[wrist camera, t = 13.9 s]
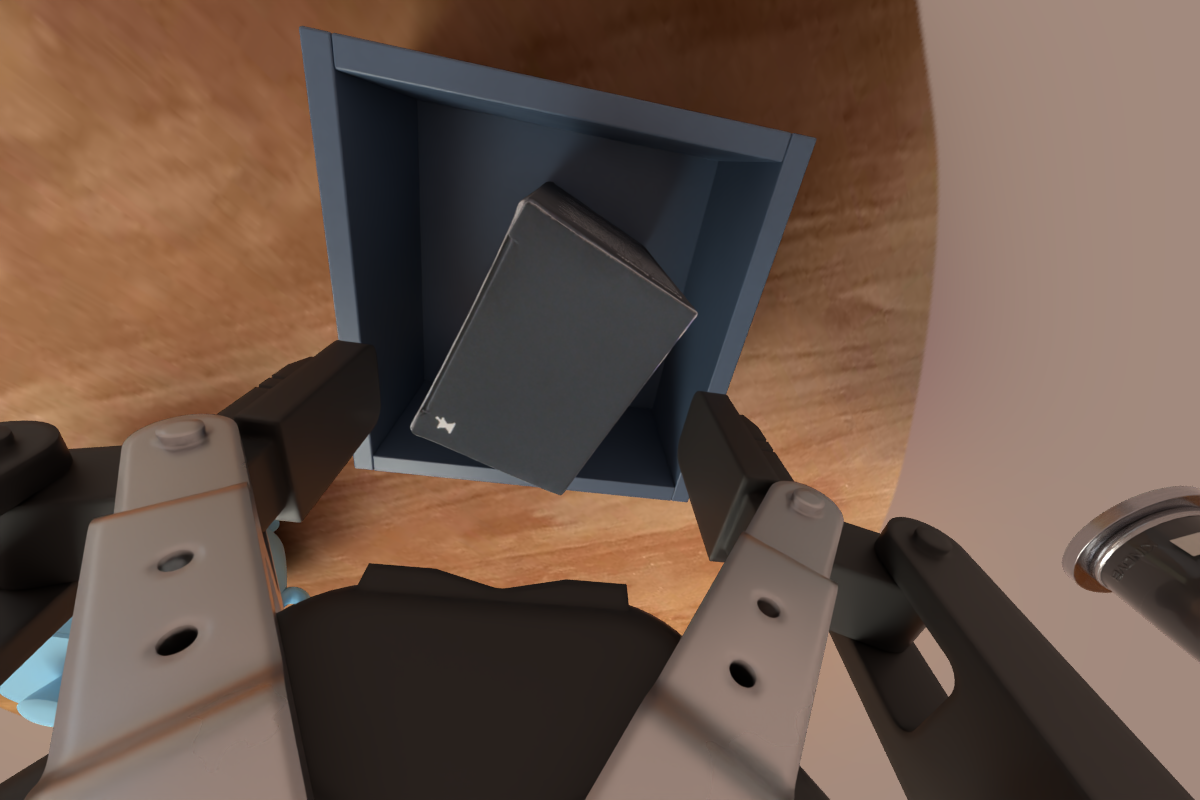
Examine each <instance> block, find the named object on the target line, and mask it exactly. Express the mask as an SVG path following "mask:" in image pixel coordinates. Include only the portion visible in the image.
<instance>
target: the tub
mask: <svg viewBox="0 0 1200 800" xmlns="http://www.w3.org/2000/svg"><path fill="white" fill-rule="evenodd" d="M299 32H300V39H301V47H302V55H303V63H304V71H305V79H306V87H307V95H308V103H309V110H310V118H311V126H312V134H313V142H314V150H315V158H316V166H317V174H318V182H319V189H320V197H321V205H322V213H323V221H324V229H325V237H326V245H327V253H328V260H329V268H330V276H331V284H332V292H333V300H334V308H335V316H336V324H337V331H338V339H339V340H341V341H348V342H356V343H363V344H370V345H373V346H374V348H375V350H376V353H377V362H378V374H379V386H380V398H381V409H380V415H379V418H378V421H377V424H376V426H375V427H374V428H373V430H372V431H371V432H370V434H369V435H368V436H367V438H366V439H365V440H364V441H363V443H362V444H361V445H360V447H359V448H358V449H357V451H356V452H355V453H354V454H353V458H354V466H355V468H358V469H368V470H375V471H385V472H395V473H404V474H414V475H424V476H434V477H444V478H453V479H463V480H473V481H483V482H493V483H503V484H512V485H522V486H532V487H537V486H535V485H532V484H530V483H527V482H525V481H522V480H520V479H518V478H515V477H513V476H511V475H508V474H506V473H504V472H502V471H499V470H497V469H495V468H492V467H490V466H488V465H486V464H483V463H481V462H479V461H477V460H474V459H472V458H470V457H468V456H465V455H463V454H461V453H458V452H456V451H454V450H451V449H449V448H447V447H444V446H442V445H440V444H438V443H435V442H433V441H430V440H427V439H425V438H423V437H419V436H417V435H414V434H413V433H412V430H411V428H410V426H411V422H412V421H413V419H414V417H415V415H416V413H417V411H418V410H419V408H420V406H421V404H422V402H423V400H424V399H425V397H426V395H427V393H428V391H429V389H430V387H431V386H432V384H433V382H434V380H435V378H436V376H437V374H438V372H439V370H440V368H441V366H442V364H443V362H444V360H445V358H446V356H447V354H448V352H449V350H450V348H451V346H452V344H453V342H454V340H455V338H456V336H457V334H458V332H459V330H460V328H461V326H462V325H463V323H464V321H465V318H466V316H467V314H468V312H469V310H470V308H471V306H472V304H473V302H474V300H475V298H476V297H477V294H478V292H479V290H480V288H481V286H482V283H483V281H484V279H485V277H486V275H487V273H488V271H489V269H490V267H491V265H492V263H493V261H494V259H495V257H496V255H497V253H498V250H499V248H500V246H501V244H502V242H503V239H504V237H505V235H506V233H507V231H508V228H509V226H510V224H511V222H512V219H513V217H514V214H515V211H516V208H517V206H518V203H519V202H520V201H521V200H522V199H524V198H525V197H526V196H528V195H530V194H531V193H532V192H534V191H535V190H536V189H538V188H539V187H541V186H542V185H543V184H544V183H545V182H548V181H550V182H554V183H555V184H556V185H557V186H558V187H560V188H562V189H563V190H564V191H566V192H567V193H568V194H570V195H571V196H573V197H574V198H576V199H577V200H579V201H580V202H581V203H583V204H584V205H586V206H587V207H589V208H590V209H591V210H593V211H594V212H595V213H597V214H598V215H600V216H601V217H603V218H604V219H606V220H607V221H608V222H610V223H611V224H613V225H614V226H616V227H617V228H619V229H620V230H622V231H623V232H624V233H626V234H627V235H629V236H630V237H631V238H633V239H634V240H636V241H637V242H639V243H640V244H642V245H643V246H644V247H645V248H646V249H647V250H648V251H649V253H650V254H651V255H652V256H653V257H654V259H655V260H656V262H657V263H658V264H659V265H660V266H661V268H662V269H663V270H664V271H665V273H666V274H667V275H668V276H669V277H670V278H671V280H672V281H673V282H674V284H675V285H676V286H677V287H678V289H679V290H680V291H681V292H682V293H683V295H684V296H685V297H686V299H687V300H688V301H689V303H690V304H691V305H692V306H693V307H694V308H695V310H696V311H697V314H698V315H697V317H696V318H695V319H694V320H693V322H692V323H691V324H690V326H689V327H688V328H687V330H686V331H685V332H684V333H683V335H682V336H681V337H680V338H679V340H678V341H677V342H676V344H675V345H674V346H673V347H672V349H671V350H670V352H669V353H668V354H667V356H666V357H665V358H664V360H663V361H662V362H661V364H660V365H659V366H658V368H657V369H656V370H655V372H654V373H653V374H652V376H651V377H650V378H649V380H648V381H647V382H646V384H645V385H644V386H643V388H642V389H641V390H640V392H639V393H638V394H637V396H636V397H635V398H634V400H633V401H632V402H631V404H630V405H629V406H628V408H627V409H626V410H625V412H624V413H623V414H622V416H621V417H620V418H619V420H618V421H617V422H616V424H615V425H614V426H613V428H612V429H611V430H610V432H609V433H608V434H607V436H606V437H605V438H604V440H603V441H602V442H601V443H600V445H599V446H598V447H597V449H596V450H595V451H594V453H593V454H592V456H591V457H590V458H589V460H588V461H587V462H586V464H585V465H584V466H583V468H582V469H581V470H580V472H579V473H578V474H577V476H576V477H575V478H574V480H573V481H572V483H571V484H570V485H569V487H568V488H567V489H566V490H571V491H581V492H591V493H601V494H611V495H620V496H630V497H640V498H650V499H660V500H672V501H680V502H688V499H689V495H688V492H687V489H686V486H685V483H684V480H683V476H682V473H681V470H680V467H679V464H678V458H677V450H678V443H679V439H680V436H681V433H682V430H683V426H684V423H685V420H686V417H687V414H688V410H689V407H690V404H691V401H692V398H693V396H694V394H695V393H696V392H697V391H704V392H712V393H719V394H726V393H727V390H728V387H729V384H730V381H731V379H732V376H733V373H734V370H735V367H736V365H737V362H738V359H739V356H740V353H741V351H742V348H743V345H744V342H745V339H746V337H747V334H748V331H749V328H750V325H751V322H752V320H753V317H754V314H755V311H756V308H757V306H758V303H759V300H760V297H761V294H762V292H763V289H764V286H765V283H766V280H767V278H768V275H769V272H770V269H771V266H772V263H773V261H774V258H775V255H776V252H777V249H778V247H779V244H780V241H781V238H782V235H783V233H784V230H785V227H786V224H787V221H788V219H789V216H790V213H791V210H792V207H793V204H794V202H795V199H796V196H797V193H798V190H799V188H800V185H801V182H802V179H803V176H804V174H805V171H806V168H807V165H808V162H809V160H810V157H811V154H812V151H813V148H814V145H815V143H816V138H814V137H809V136H805V135H800V134H795V133H792V134H791V133H790V132H786V131H781V130H777V129H772V128H768V127H763V126H758V125H754V124H749V123H745V122H740V121H735V120H731V119H726V118H722V117H717V116H713V115H708V114H703V113H699V112H694V111H690V110H685V109H681V108H676V107H671V106H667V105H662V104H658V103H653V102H648V101H644V100H639V99H635V98H630V97H626V96H621V95H616V94H612V93H607V92H603V91H598V90H594V89H589V88H584V87H580V86H575V85H571V84H566V83H561V82H557V81H552V80H548V79H543V78H539V77H534V76H529V75H525V74H520V73H516V72H511V71H507V70H502V69H497V68H493V67H488V66H484V65H479V64H474V63H470V62H465V61H461V60H456V59H452V58H447V57H442V56H438V55H433V54H429V53H424V52H420V51H415V50H410V49H406V48H401V47H397V46H392V45H387V44H383V43H378V42H374V41H369V40H365V39H360V38H355V37H351V36H346V35H342V34H337V33H333V34H332V33H330V32H328V31H323V30H319V29H314V28H310V27H305V26H300V27H299Z"/></svg>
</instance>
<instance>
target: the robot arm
mask: <svg viewBox="0 0 1200 800" xmlns="http://www.w3.org/2000/svg"><path fill="white" fill-rule="evenodd" d="M380 409H381V398H380V386H379V374H378V362H377V353H376V350H375V348H374V346H373V345H370V344H363V343H356V342H348V341H341V340H336V341H335V342H333V343H332V344H330V345H329V346H328V347H326V348H325V349H324V350H322V351H321V352H320V353H318V354H317V355H316V356H314V357H308V358H305V359H303V360H300V361H297V362H294V363H291V364H288V365H287V366H285V367H284V368H282V369H281V370H279V371H278V372H277V373H275V374H274V375H272V378H268V379H267V380H265V381H264V382H262V383H261V384H259V388H258V387H255V388H254V389H252V390H251V391H249V392H248V393H247V394H245V395H244V396H242V397H241V398H239V399H238V400H237V401H235V402H234V403H232V404H231V405H229V406H228V407H227V408H225V409H224V410H222V411H221V412H220V413H218V414H217V415H215V414H191V415H183V416H178V417H172V418H168V419H164V420H161V421H158V422H155V423H152V424H150V425H147V426H145V427H143V428H141V429H139V430H137V431H136V432H134V433H133V434H131V435H130V436H129V437H128V438H127V439H126V440H125V441H124V443H123V445H122V446H110V447H94V448H79V449H68V448H67V446H66V444H65V442H64V440H63V438H62V436H61V434H60V432H59V430H58V429H57V428H56V427H55V426H53V425H51V424H49V423H45V422H38V421H8V422H0V686H1V685H2V684H3V683H4V682H5V681H6V680H7V679H8V678H9V677H10V676H11V675H12V674H13V673H14V672H15V671H16V670H17V669H19V668H20V667H21V666H22V665H23V664H24V663H25V662H26V661H27V660H28V659H29V658H30V657H31V656H32V655H33V654H34V653H35V652H36V651H37V650H38V649H39V648H40V647H41V646H42V645H43V644H44V643H45V642H46V641H47V640H48V639H49V638H51V637H52V636H53V635H54V634H55V633H56V632H57V631H58V630H59V629H60V628H61V627H62V626H63V625H64V624H65V623H66V622H67V621H68V620H69V619H70V618H71V617H72V616H73V617H72V623H71V629H70V635H69V640H68V646H67V652H66V658H65V663H64V669H63V675H62V681H61V686H60V692H59V698H58V703H57V709H56V715H55V721H54V726H53V732H52V738H51V744H50V750H49V754H47V755H46V756H44V757H43V758H41V759H39V760H38V761H36V762H35V763H33V764H31V765H30V766H28V767H27V768H25V769H23V770H22V771H20V772H18V773H17V774H15V775H14V776H12V777H10V778H9V779H7V780H6V781H4V782H2V783H1V784H0V800H830V799H829V798H828V797H827V796H826V795H825V793H824V792H823V791H822V790H821V789H820V788H819V787H818V786H817V784H816V783H815V782H814V781H813V780H812V779H811V778H810V777H809V776H808V774H807V773H806V772H805V771H804V770H803V769H802V768H801V767H800V760H801V755H802V750H803V746H804V742H805V737H806V733H807V728H808V723H809V718H810V714H811V710H812V705H813V701H814V696H815V692H816V687H817V682H818V677H819V673H820V669H821V664H822V659H823V655H824V650H825V646H826V641H827V636H828V632H829V633H830V635H831V637H832V639H833V641H834V643H835V646H836V648H837V650H838V652H839V654H840V656H841V658H842V660H843V663H844V665H845V667H846V669H847V671H848V673H849V675H850V678H851V680H852V682H853V684H854V686H855V688H856V690H857V692H858V695H859V696H860V699H861V701H862V703H863V705H864V707H865V710H866V712H867V714H868V716H869V718H870V720H871V722H872V724H873V726H874V729H875V731H876V733H877V735H878V737H879V739H880V741H881V744H882V745H883V748H884V750H885V752H886V754H887V756H888V758H889V760H890V763H891V765H892V767H893V769H894V771H895V773H896V775H897V778H898V780H899V782H900V784H901V786H902V788H903V790H904V792H905V795H906V797H907V799H908V800H1194V799H1193V798H1192V797H1191V795H1190V794H1189V793H1188V792H1187V791H1186V790H1185V789H1184V788H1183V787H1182V785H1180V783H1179V782H1178V781H1177V780H1176V779H1175V778H1174V777H1173V776H1172V775H1171V774H1170V772H1169V771H1168V770H1167V769H1166V768H1165V767H1164V766H1163V765H1162V764H1161V763H1160V762H1159V761H1158V759H1157V758H1156V757H1155V756H1154V755H1153V754H1152V753H1151V752H1150V751H1149V750H1148V749H1147V748H1146V747H1145V745H1144V744H1143V743H1142V742H1141V741H1140V740H1139V739H1138V738H1137V737H1136V736H1135V734H1134V733H1133V732H1132V731H1131V730H1130V729H1129V728H1128V727H1127V726H1126V725H1125V724H1124V723H1123V722H1122V720H1121V719H1120V718H1119V717H1118V716H1117V715H1116V714H1115V713H1114V712H1113V711H1112V710H1111V708H1110V707H1109V706H1108V705H1107V704H1106V703H1105V702H1104V701H1103V700H1102V699H1101V698H1100V697H1099V696H1098V694H1097V693H1096V692H1095V691H1094V690H1093V689H1092V688H1091V687H1090V686H1089V685H1088V684H1087V682H1086V681H1085V680H1084V679H1083V678H1082V677H1081V676H1080V675H1079V674H1078V673H1077V672H1076V671H1075V669H1074V668H1073V667H1072V666H1071V665H1070V664H1069V663H1068V662H1067V661H1066V660H1065V659H1064V657H1063V656H1062V655H1061V654H1060V653H1059V652H1058V651H1057V650H1056V649H1055V648H1054V647H1053V646H1052V644H1051V643H1050V642H1049V641H1048V640H1047V639H1046V638H1045V637H1044V636H1043V635H1042V634H1041V633H1040V631H1039V630H1038V629H1037V628H1036V627H1035V626H1034V625H1033V624H1032V623H1031V622H1030V621H1029V620H1028V618H1027V617H1026V616H1025V615H1024V614H1023V613H1022V612H1021V611H1020V610H1019V609H1018V608H1017V607H1016V606H1015V604H1014V603H1013V602H1012V601H1011V600H1010V599H1009V598H1008V597H1007V596H1006V595H1005V593H1004V592H1003V591H1002V590H1001V589H1000V588H999V587H998V586H997V585H996V584H995V583H994V582H993V580H992V579H991V578H990V577H989V576H988V575H987V574H986V573H985V572H984V571H983V570H982V569H981V567H980V566H979V565H978V564H977V563H976V562H975V561H974V560H973V559H972V558H971V557H970V556H969V554H968V553H967V552H966V551H965V550H964V549H963V548H962V547H961V546H960V545H959V544H958V543H956V542H955V541H954V540H953V539H951V538H950V537H949V536H947V535H946V534H944V533H942V532H941V531H940V530H938V529H936V528H934V527H932V526H930V525H928V524H926V523H923V522H920V521H918V520H914V519H911V518H906V517H896V518H892V519H891V520H890V521H889V522H888V523H887V525H886V527H885V528H884V529H883V531H882V532H881V534H880V533H876V532H873V531H870V530H867V529H864V528H861V527H858V526H855V525H852V524H849V523H846V522H844V519H843V515H842V513H841V511H840V510H839V508H838V507H837V506H836V505H835V503H834V502H833V501H831V500H830V499H829V498H828V497H827V496H825V495H824V494H822V493H821V492H819V491H817V490H816V489H814V488H812V487H809V486H807V485H804V484H801V483H797V482H794V480H793V479H792V477H791V476H790V474H789V473H788V471H787V470H786V468H785V467H784V465H783V464H782V462H781V461H780V459H779V458H778V456H777V455H776V453H775V452H773V449H772V447H771V446H770V444H769V443H768V442H766V438H765V437H764V435H763V434H762V432H761V431H760V429H759V428H758V427H757V426H756V425H755V424H754V423H752V422H751V421H750V420H749V419H747V418H746V417H745V416H744V415H739V413H738V412H737V410H736V409H735V407H734V405H733V404H732V402H731V401H730V399H729V397H728V396H727V395H726V394H719V393H712V392H704V391H697V392H696V393H695V394H694V396H693V398H692V401H691V404H690V407H689V410H688V414H687V417H686V420H685V423H684V426H683V430H682V433H681V436H680V439H679V443H678V450H677V458H678V464H679V467H680V470H681V473H682V476H683V480H684V483H685V486H686V489H687V492H688V495H689V498H690V501H691V504H692V507H693V511H694V514H695V517H696V520H697V523H698V526H699V529H700V532H701V535H702V539H703V542H704V545H705V548H706V551H707V554H708V557H709V560H710V561H715V562H725V563H724V564H723V566H722V568H721V570H720V571H719V573H718V575H717V577H716V578H715V580H714V582H713V583H712V585H711V587H710V589H709V590H708V592H707V594H706V596H705V597H704V599H703V601H702V603H701V604H700V606H699V608H698V610H697V611H696V613H695V615H694V617H693V618H692V620H691V622H690V624H689V625H688V627H687V629H686V631H685V632H684V634H683V636H681V635H680V634H679V633H678V632H677V631H676V630H674V629H673V628H671V627H670V626H669V625H667V624H666V623H665V622H663V621H661V620H660V619H658V618H656V617H655V616H653V615H651V614H649V613H647V612H645V611H643V610H640V609H638V608H636V607H633V606H630V605H629V603H628V594H627V585H626V584H616V583H603V582H591V581H579V580H567V579H566V580H560V581H553V582H546V583H539V584H532V585H525V586H519V587H512V588H503V589H501V588H494V587H491V586H488V585H484V584H481V583H478V582H475V581H472V580H469V579H466V578H463V577H460V576H456V575H453V574H450V573H447V572H444V571H441V570H438V569H432V568H420V567H408V566H395V565H383V564H371V563H369V565H368V566H367V568H366V570H365V572H364V574H363V576H362V578H361V580H360V582H359V584H358V585H354V586H348V587H344V588H340V589H336V590H331V591H328V592H325V593H322V594H319V595H316V596H313V597H310V598H308V599H305V600H303V601H301V602H298V603H296V604H293V605H291V606H289V607H288V608H286V609H284V607H283V602H282V598H281V593H280V588H279V584H278V579H277V575H276V570H275V566H274V561H273V557H272V552H271V548H270V543H269V539H268V535H267V532H266V529H267V528H268V527H269V526H270V524H271V523H272V522H273V521H274V520H279V521H290V522H302V521H303V519H304V518H305V517H306V516H307V514H308V513H309V512H310V510H311V509H312V508H313V506H314V505H315V504H316V503H317V501H318V500H319V499H320V497H321V496H322V495H323V493H324V492H325V491H326V490H327V488H328V487H329V486H330V484H331V483H332V482H333V480H334V479H335V478H336V477H337V475H338V474H339V473H340V471H341V470H342V469H343V467H344V466H345V465H346V464H347V462H348V461H349V460H350V458H351V457H352V456H353V454H354V453H355V452H356V451H357V449H358V448H359V447H360V445H361V444H362V443H363V441H364V440H365V439H366V438H367V436H368V435H369V434H370V432H371V431H372V430H373V428H374V427H375V426H376V424H377V421H378V418H379V415H380ZM1090 573H1091V575H1092V577H1093V578H1094V579H1095V580H1096V581H1098V582H1099V583H1100V584H1101V585H1103V586H1104V587H1105V588H1107V589H1109V590H1111V591H1112V592H1113V593H1114V594H1116V595H1117V596H1118V597H1119V598H1121V599H1122V600H1123V601H1124V602H1126V603H1127V604H1128V605H1129V606H1130V607H1132V608H1133V609H1134V610H1136V611H1137V612H1138V613H1139V614H1141V615H1142V616H1143V617H1144V618H1145V619H1146V620H1147V621H1149V622H1150V623H1151V624H1152V625H1154V626H1155V627H1156V628H1157V629H1158V630H1160V631H1161V632H1162V633H1163V634H1165V635H1166V636H1167V637H1168V638H1170V639H1171V640H1172V641H1173V642H1174V643H1176V644H1177V645H1178V646H1179V647H1181V648H1182V649H1183V650H1185V651H1186V652H1187V653H1188V654H1189V655H1191V656H1192V657H1193V658H1194V659H1195V660H1197V661H1198V662H1199V663H1200V508H1195V507H1181V508H1174V509H1169V510H1165V511H1161V512H1158V513H1155V514H1152V515H1150V516H1147V517H1145V518H1142V519H1140V520H1138V521H1136V522H1134V523H1132V524H1130V525H1128V526H1127V527H1125V528H1123V529H1122V530H1120V531H1119V532H1117V533H1116V534H1115V535H1113V536H1112V537H1111V538H1110V539H1108V540H1107V541H1106V542H1105V543H1104V544H1103V545H1102V546H1101V547H1100V548H1099V549H1098V551H1097V552H1096V553H1095V555H1094V557H1093V558H1092V561H1091V563H1090ZM925 627H927V629H928V630H929V631H930V633H931V634H932V636H933V637H934V639H935V640H936V642H937V643H938V645H939V646H940V648H941V649H942V651H943V652H944V653H945V655H946V656H947V658H948V660H949V661H950V664H951V666H952V668H953V672H954V678H955V686H954V690H953V692H952V694H951V695H950V696H949V697H948V696H947V694H946V692H945V691H944V689H943V688H942V686H941V685H940V683H939V682H938V680H937V678H936V677H935V675H934V674H933V672H932V670H931V669H930V667H929V666H928V664H927V663H926V661H925V659H924V658H923V656H922V655H921V653H920V652H919V650H918V648H917V647H916V645H915V644H914V642H913V641H914V640H915V639H916V638H917V637H918V635H919V634H920V633H921V632H922V631H923V630H924V628H925Z"/></svg>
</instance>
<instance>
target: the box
mask: <svg viewBox="0 0 1200 800" xmlns="http://www.w3.org/2000/svg"><path fill="white" fill-rule="evenodd" d="M697 315H698V314H697V311H696V310H695V308H694V307H693V306H692V305H691V304H690V303H689V301H688V300H687V299H686V297H685V296H684V295H683V293H682V292H681V291H680V290H679V289H678V287H677V286H676V285H675V284H674V282H673V281H672V280H671V278H670V277H669V276H668V275H667V274H666V273H665V271H664V270H663V269H662V268H661V266H660V265H659V264H658V263H657V262H656V260H655V259H654V257H653V256H652V255H651V254H650V253H649V251H648V250H647V249H646V248H645V247H644V246H643V245H642V244H640V243H639V242H637V241H636V240H634V239H633V238H631V237H630V236H629V235H627V234H626V233H624V232H623V231H622V230H620V229H619V228H617V227H616V226H614V225H613V224H611V223H610V222H608V221H607V220H606V219H604V218H603V217H601V216H600V215H598V214H597V213H595V212H594V211H593V210H591V209H590V208H589V207H587V206H586V205H584V204H583V203H581V202H580V201H579V200H577V199H576V198H574V197H573V196H571V195H570V194H568V193H567V192H566V191H564V190H563V189H562V188H560V187H558V186H557V185H556V184H555V183H554V182H550V181H548V182H545V183H544V184H543V185H542V186H541V187H539V188H538V189H536V190H535V191H534V192H532V193H531V194H530V195H528V196H526V197H525V198H524V199H522V200H521V201H520V202H519V203H518V206H517V208H516V211H515V214H514V217H513V219H512V222H511V224H510V226H509V228H508V231H507V233H506V235H505V237H504V239H503V242H502V244H501V246H500V248H499V250H498V253H497V255H496V257H495V259H494V261H493V263H492V265H491V267H490V269H489V271H488V273H487V275H486V277H485V279H484V281H483V283H482V286H481V288H480V290H479V292H478V294H477V297H476V298H475V300H474V302H473V304H472V306H471V308H470V310H469V312H468V314H467V316H466V318H465V321H464V323H463V325H462V326H461V328H460V330H459V332H458V334H457V336H456V338H455V340H454V342H453V344H452V346H451V348H450V350H449V352H448V354H447V356H446V358H445V360H444V362H443V364H442V366H441V368H440V370H439V372H438V374H437V376H436V378H435V380H434V382H433V384H432V386H431V387H430V389H429V391H428V393H427V395H426V397H425V399H424V400H423V402H422V404H421V406H420V408H419V410H418V411H417V413H416V415H415V417H414V419H413V421H412V422H411V426H410V428H411V430H412V433H413V434H414V435H417V436H419V437H423V438H425V439H427V440H430V441H433V442H435V443H438V444H440V445H442V446H444V447H447V448H449V449H451V450H454V451H456V452H458V453H461V454H463V455H465V456H468V457H470V458H472V459H474V460H477V461H479V462H481V463H483V464H486V465H488V466H490V467H492V468H495V469H497V470H499V471H502V472H504V473H506V474H508V475H511V476H513V477H515V478H518V479H520V480H522V481H525V482H527V483H530V484H532V485H535V486H537V487H539V488H542V489H544V490H547V491H550V492H552V493H555V494H558V495H562V494H563V493H564V492H565V491H566V489H567V488H568V487H569V485H570V484H571V483H572V481H573V480H574V478H575V477H576V476H577V474H578V473H579V472H580V470H581V469H582V468H583V466H584V465H585V464H586V462H587V461H588V460H589V458H590V457H591V456H592V454H593V453H594V451H595V450H596V449H597V447H598V446H599V445H600V443H601V442H602V441H603V440H604V438H605V437H606V436H607V434H608V433H609V432H610V430H611V429H612V428H613V426H614V425H615V424H616V422H617V421H618V420H619V418H620V417H621V416H622V414H623V413H624V412H625V410H626V409H627V408H628V406H629V405H630V404H631V402H632V401H633V400H634V398H635V397H636V396H637V394H638V393H639V392H640V390H641V389H642V388H643V386H644V385H645V384H646V382H647V381H648V380H649V378H650V377H651V376H652V374H653V373H654V372H655V370H656V369H657V368H658V366H659V365H660V364H661V362H662V361H663V360H664V358H665V357H666V356H667V354H668V353H669V352H670V350H671V349H672V347H673V346H674V345H675V344H676V342H677V341H678V340H679V338H680V337H681V336H682V335H683V333H684V332H685V331H686V330H687V328H688V327H689V326H690V324H691V323H692V322H693V320H694V319H695V318H696V317H697Z"/></svg>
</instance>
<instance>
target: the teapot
mask: <svg viewBox="0 0 1200 800" xmlns="http://www.w3.org/2000/svg"><path fill="white" fill-rule="evenodd" d="M278 527H279V520H274V521H273V522H272V523H271V524H270V526H269V527H268V528H267V529H266V532H267V535H268V539H269V543H270V548H271V552H272V557H273V561H274V566H275V570H276V575H277V579H278V584H279V588H280V593H281V598H282V602H283V607H285V606H286V605H288V604H296V603H298V602H301V601H303V600H305V599H308V598H310V596H309V594H308V593H307V592H306V591H305V590H303V589H301V588H298V587H288V588H287V567H286V557H285V551H284V546H283V544H282V542H281V540H280V539H279V538H278V536H277V535H276V534H275V533H274V531H275V530H277V529H278ZM72 617H73V616H72ZM72 617H71V618H70V619H69V620H68V621H67V622H66V623H65V624H64V625H63V626H62V627H61V628H60V629H59V630H58V631H57V632H56V633H55V634H54V635H53V636H52V637H51V638H49V639H48V640H47V641H46V642H45V643H44V644H43V645H42V646H41V647H40V648H39V649H38V650H37V651H36V652H35V653H34V654H33V655H32V656H31V657H30V658H29V659H28V660H27V661H26V662H25V663H24V664H23V665H22V666H21V667H20V668H19V669H17V670H16V671H15V672H14V673H13V674H12V675H11V676H10V677H9V678H8V679H7V680H6V681H5V682H4V683H3V684H2V685H1V686H0V694H1V695H2V696H4V697H6V698H8V699H10V700H12V701H15V702H17V703H19V704H18V705H17V710H18V712H19V713H20V714H21V715H22V716H23V717H25V718H26V719H28V720H29V721H31V722H34V723H37V724H40V725H44V726H49V727H53V726H54V721H55V715H56V709H57V703H58V698H59V692H60V686H61V681H62V675H63V669H64V663H65V658H66V652H67V646H68V640H69V635H70V629H71V623H72Z"/></svg>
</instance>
